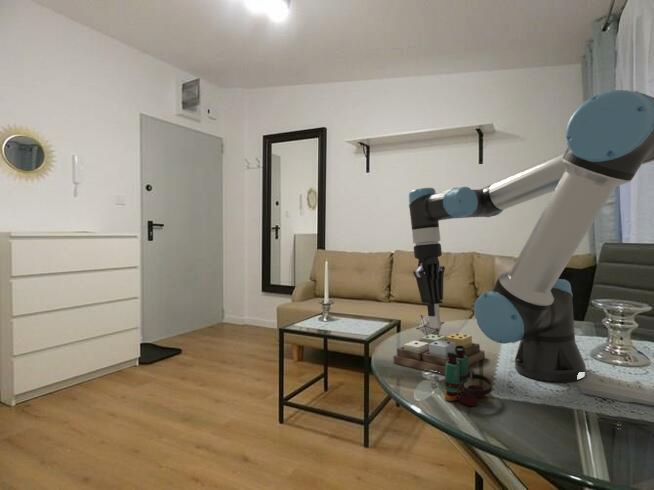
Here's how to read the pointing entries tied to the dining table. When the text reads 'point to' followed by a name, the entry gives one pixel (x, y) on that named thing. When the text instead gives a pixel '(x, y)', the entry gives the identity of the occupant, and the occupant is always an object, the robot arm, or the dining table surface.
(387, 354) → the dining table surface
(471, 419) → the dining table surface
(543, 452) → the dining table surface
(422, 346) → the button one
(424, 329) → the game die
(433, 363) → the wooden compartment tray
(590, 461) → the dining table surface
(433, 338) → the button three
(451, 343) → the button two
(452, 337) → the button four
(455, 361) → the binoculars
